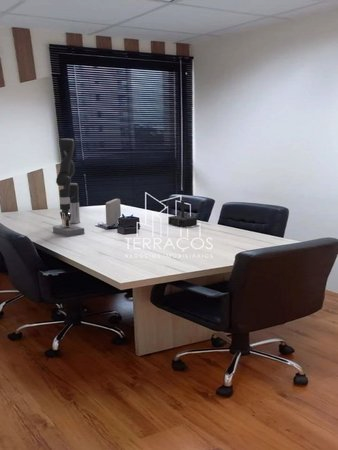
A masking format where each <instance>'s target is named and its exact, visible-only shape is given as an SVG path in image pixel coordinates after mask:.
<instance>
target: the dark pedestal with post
mask: <svg viewBox="0 0 338 450" xmlns="http://www.w3.org/2000/svg"><path fill="white" fill-rule="evenodd" d="M185 203H186V200H184V199H181V200H180V208H181V209H180V211H181V212H180V213H181V214H178V215H172V216H168V217H167V219H168V225H171V226H176V227H182V228H188V227H193V226H197V224H198V217H195V216H189V215H185Z"/></svg>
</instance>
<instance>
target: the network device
mask: <svg viewBox="0 0 338 450" xmlns="http://www.w3.org/2000/svg"><path fill="white" fill-rule="evenodd" d="M121 207H122V206H121V198H114V199H112V200H109V201H107V202H105V223H106V225H108V226H114V225H113V224H118V223H117V222H119V221H118V217H120V216H121V217H122V213H121V211H122V210H121ZM106 225H105V226H106Z"/></svg>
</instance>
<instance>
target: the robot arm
mask: <svg viewBox="0 0 338 450" xmlns="http://www.w3.org/2000/svg"><path fill="white" fill-rule="evenodd" d="M58 144H59V146H58V147H59V151H60V156H61V163H60V165H59V168H60V169H59V171H58V175H57V177H56V179H55V180H56V181H55V182H56V185H57V186H60V187H64V188H61V189H59V210H61V211H59V215H60V217H61V220H62V219H64V218H65V220H66V226H69V221H70V224H79V223H81V216H80V215H81V213H80V197H79V196H80V195H79V192H80V191H79V188H80V187H79V184H78V183H77V182H72V177H73V176H74V174H75V172H76V168H75V163H74V161H73V155H74V151H75V141H74V139H73V138H60V139H59V140H58ZM67 152H68V153H67ZM70 195H73V196H72V197H70Z"/></svg>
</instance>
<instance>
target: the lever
mask: <svg viewBox="0 0 338 450" xmlns="http://www.w3.org/2000/svg"><path fill="white" fill-rule="evenodd" d="M61 224H62V227H69V226H70V225H71V223H70V221H69V226H66V220H65V218H64V219H61Z"/></svg>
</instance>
